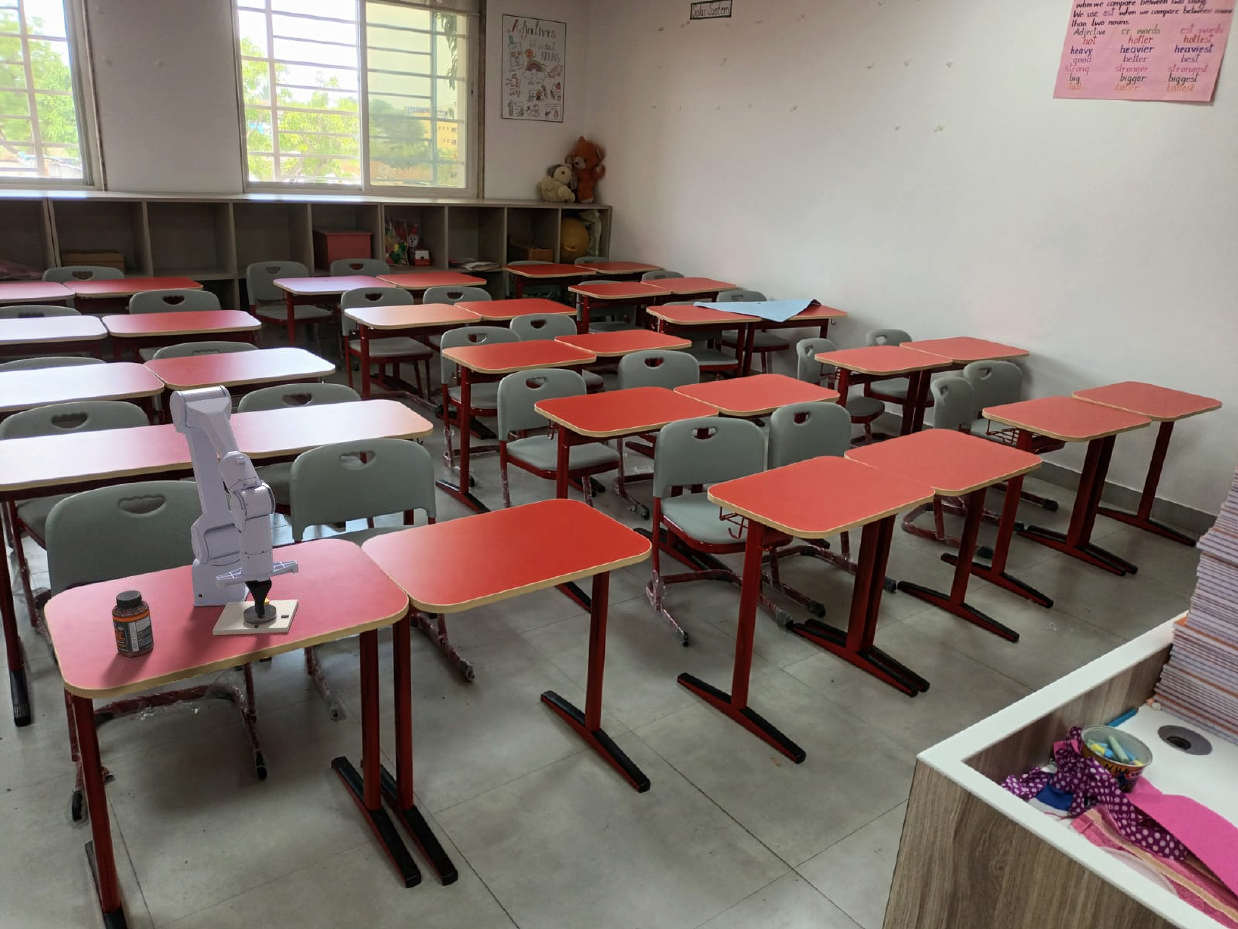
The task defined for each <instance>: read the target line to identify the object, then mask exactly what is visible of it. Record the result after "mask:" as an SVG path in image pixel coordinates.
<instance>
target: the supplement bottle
mask: <svg viewBox="0 0 1238 929" xmlns="http://www.w3.org/2000/svg"><path fill="white" fill-rule="evenodd" d="M115 601H116V602H115V604H116V605H115V606H113V608H112V610H111V616H112V617H111V618H112V624H113V630H114V635H115V642H116V649H117V652H118V654H119V655H121V656H123V657H127V658H129V657H131V658H132V657H139V656H142V655H144V654H146V653H149V652H150V651H152V649H153V648H154V645H155V642H154V641H155V640H154V634H153V625H152V619H151V617H152V616H151V611H150V610H151V609H150V606H149V603H147V601H146V600H143V597H142V592H141V591H139V590H136V589H131V590H130V589H129V590H125V591H122V592H120V593H118V594H116V596H115Z"/></svg>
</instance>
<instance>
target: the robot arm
mask: <svg viewBox="0 0 1238 929" xmlns="http://www.w3.org/2000/svg"><path fill="white" fill-rule="evenodd" d="M171 393H172V394H171V395H170V398H169V408H170V414H171V417H172V422H173V426H174V429H175V433H178V434H182V435H184V436H185V439H186V443H187V447H188V451H189V456H190V459H191V460H190V461H191V465H192V468H193V474H194V479H195V483H196V487H197V492H198V497H199V502H200V506H201V510H202V513H201V515H200V516H199V517H198V518H197V519H196V520H195V521H194V523H193V524H192V525H191V527H190V535H191V547H192V551H193V554H194V556H195V558H194V560H193V562H192V566H191V584H192V592H193V598H194V599H193V600H194V603H193V606H194V607H208V606H209V607H210V606H211V607H212V606H226V604H227V603H228V602H244V601H246V599H247V597H248V596H249V594H251V596H252V598H253V601H255V612H256V613H257V615H258V616H262V615H265V610H264V603H265V600H266V598H268V595H269V593H270V590H271V588H273V587H272V586H273V581H272V580H271V577H276V576H281V575H286V574H289V573H290V574H291V573H292V574H298V573H299V563H298V562H297V560H295V559H294V560H293V559H292V560H286V561H274V553H273V551H274V550H273V538H272V523H271V522H272V521H271V515H273V514H274V513H275V511H276V499H275V495H274V493H273V491H272V489H271V487H270V486H269V484H267V483H266V482H265V480H264V479H260V478H259V476H258V473H257V470H255V467H254V465H253V463H252V461H251V460H252V459H250V456H249V455H248V454H246V453H243V452H241V451H240V449H239V446H238V442H237V440H236V437H235V435H234V432H233V429H232V426H231V423H230V420H231V416H232V410H233V402H232V397H231V394H230V392H229V390H228V389H227V388H226V387H225V386H224V385H221V384H220V385H217V386H210V387H203V388H196V389H195V388H194V389H187V390H173V392H171ZM219 459H220V461H219ZM224 484H225V485H224ZM225 486H226V488H227V491H228V493H229V494H230V498H229V504H228V500H227V496H226V491H225ZM228 505H229V506H228ZM229 507H230V508H229Z"/></svg>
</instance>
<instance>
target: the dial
mask: <svg viewBox="0 0 1238 929" xmlns="http://www.w3.org/2000/svg"><path fill="white" fill-rule="evenodd" d="M269 601H270V599H268V597H266V600H265V603H264V610H265V615H262V616H258V615H257V613H256V612H255V605H254V606H251V607H249V608H247V609H246V610H245V611H244V612H243V615H244V621H245V622H247V623H250V624H262V623H266V622H269V621H271V620H273V619H274V618H275V617H276V616H277V612H276V607H275V606H273V605H270V604H269Z"/></svg>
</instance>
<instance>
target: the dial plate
mask: <svg viewBox="0 0 1238 929" xmlns="http://www.w3.org/2000/svg"><path fill="white" fill-rule="evenodd" d="M269 604H270V605H273V606H275V607H276V612H277V616H276V617H275V618H274V619H273V620H271V621H269V622H266V623H262V624H250V623H247V622H245V621H244V615H243V612H244V611H245V610H246V609H247V608H249V607H251V606H254V605H255V601H254V600H252V601H251V600H250V601H249V600H248V601H246V600H245V601H244V602H228V603H227V604H226V605H224V606H225V607H224V609H223V610H222V612H221V614H220V615H219V618H218V619H217V621H216V623H215V625H214V626H213V629H212V636H221V635H222V636H223V635H224V636H225V635H245V634H246V635H248V634H252V635H253V634H271V633H273V634H275V633H288V632H289V630H290V627H291V625H292V622H293V619H294V616H295V614H296V611H297V608H298V606H299V600H298V599H278V600H277V599H276V600H273V599H272V600H269Z"/></svg>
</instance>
